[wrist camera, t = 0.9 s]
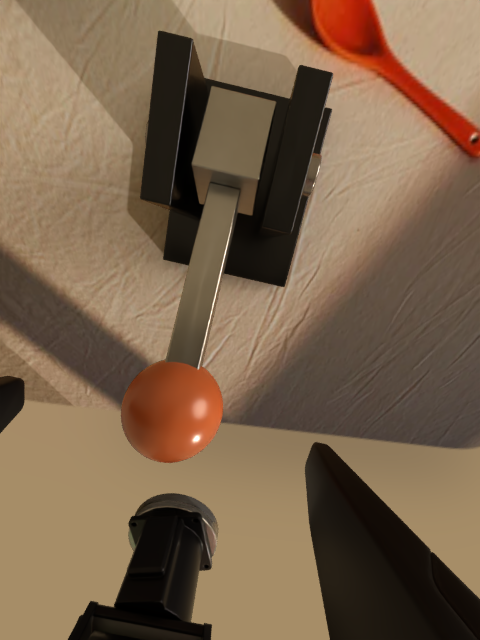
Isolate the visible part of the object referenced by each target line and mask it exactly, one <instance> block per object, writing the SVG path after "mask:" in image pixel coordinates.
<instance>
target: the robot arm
mask: <svg viewBox="0 0 480 640" xmlns="http://www.w3.org/2000/svg"><path fill="white" fill-rule="evenodd" d="M23 405H24V381H23V380H22V379H21V378H16V377H12V376H4V377H0V433H1V432H2V431H3V430H4V428H5V427H6V426H7V425H8V424H9V423H10V422H11V421H12V420H13V418H14V417H15V416H16V415H17V414H18V413H19V412H20V411H21V409H22V408H23ZM305 477H306V489H307V502H308V514H309V524H310V531H311V537H312V542H313V548H314V554H315V559H316V565H317V570H318V576H319V581H320V587H321V592H322V597H323V603H324V609H325V614H326V620H327V625H328V631H329V636H330V640H480V599H479V598H478V597H477V596H476V595H475V594H474V593H473V592H472V591H471V590H470V589H469V588H468V587H467V586H466V585H465V584H464V583H463V582H462V581H461V580H460V579H459V578H458V577H457V576H456V575H455V574H454V573H453V572H452V571H451V570H450V569H449V568H448V567H447V566H446V565H445V564H444V563H443V562H442V561H441V560H440V559H439V558H438V557H437V556H436V555H435V554H434V553H433V552H431V551H430V549H429V548H428V547H427V546H426V545H425V544H424V543H423V542H422V541H421V540H420V539H419V537H418V536H417V535H416V534H415V533H414V532H413V531H412V530H411V529H409V527H408V526H407V525H406V524H405V523H404V522H403V521H402V520H401V519H400V518H399V517H398V516H397V515H396V514H395V513H394V512H393V511H392V510H391V509H390V508H389V507H388V506H387V505H386V504H385V503H384V502H383V501H382V500H381V499H380V498H379V497H378V496H377V495H376V494H375V493H374V492H373V491H372V489H370V487H369V486H368V485H367V484H366V483H365V482H364V481H362V479H361V478H360V477H359V476H358V475H357V474H356V473H355V472H354V471H353V470H352V469H351V468H350V467H349V466H348V465H347V464H346V463H345V462H344V461H343V460H342V459H341V458H340V457H339V456H338V455H337V454H336V453H335V452H334V451H333V450H332V449H331V448H330V447H329V446H328V445H326V444H322V443H317V442H315V443H314V444H313V445H312V448H311V450H310V453H309V456H308V459H307V462H306V465H305ZM129 528H130V531H131V534H132V537H133V540H134V543H135V550H134V552H133V555H132V558H131V560H130V563H129V566H128V568H127V572H126V575H125V577H124V580H123V583H122V585H121V588H120V591H119V593H118V596H117V599H116V602H115V604H114V607H109V606H105V605H99V604H98V602H94V601H90V603H89V605H88V606H87V608H86V610H85V613H84V614H83V615H81V616H80V617H79V619H78V621H77V623H76V625H75V627H74V629H73V631H72V633H71V635H70V636H69V638H68V640H211V628H212V625H211V624H207V623H204V625H202V624H196V623H192V622H191V618H192V612H193V606H194V599H195V593H196V587H197V581H198V574H199V571H202V570H210V569H211V567H212V559H211V554H210V550H209V545H208V540H207V536H206V531H205V527H204V522H203V518H202V515H201V514H200V513H199V512H187V513H171V514H155V515H139V516H132V517H131V519H130V521H129Z"/></svg>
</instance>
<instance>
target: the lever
mask: <svg viewBox="0 0 480 640" xmlns="http://www.w3.org/2000/svg"><path fill="white" fill-rule="evenodd" d="M275 109H276V101H272V100H268V99H264V98H260V97H255V96H251V95H247V94H243V93H239V92H235V91H231V90H226V89H222V88H218V87H214V86H211V88H210V92H209V96H208V100H207V104H206V108H205V112H204V115H203V119H202V123H201V127H200V131H199V135H198V139H197V143H196V147H195V151H194V154H193V158H192V162H191V166H192V170H193V175H194V180H195V185H196V190H197V195H198V200H199V203H200V204H204V207H203V211H202V215H201V219H200V223H199V227H198V231H197V235H196V239H195V243H194V247H193V251H192V255H191V259H190V263H189V267H188V272H187V276H186V280H185V284H184V288H183V292H182V296H181V300H180V304H179V308H178V312H177V316H176V320H175V324H174V328H173V332H172V336H171V340H170V345H169V349H168V353H167V357H166V360H162V361H159V362H156V363H154V364H152V365H150V366H148V367H147V368H145V369H144V370H142V371H141V372H140V373H139V374H138V375H137V376H136V377H135V378H134V380H133V381H132V382H131V384H130V385H129V387H128V389H127V391H126V393H125V395H124V398H123V402H122V407H121V422H122V426H123V430H124V433H125V435H126V437H127V439H128V441H129V442H130V444H131V445H132V446H133V447H134V449H135V450H137V451H138V452H139V453H140V454H142V455H143V456H145V457H146V458H149V459H151V460H154V461H157V462H164V463H173V462H179V461H183V460H186V459H188V458H191V457H193V456H195V455H196V454H198V453H199V452H200V451H202V450H203V449H204V448H205V447H206V446H207V445H208V444H209V443H210V442H211V440H212V439H213V438H214V436H215V434H216V433H217V431H218V428H219V426H220V423H221V419H222V414H223V400H222V395H221V391H220V388H219V386H218V384H217V382H216V380H215V379H214V377H213V376H212V375H211V374H210V373H209V372H208V371H207V370H206V369H205V368H204V367H202V365H203V360H204V356H205V352H206V347H207V343H208V339H209V334H210V330H211V326H212V321H213V317H214V313H215V309H216V304H217V300H218V296H219V291H220V287H221V283H222V278H223V274H224V270H225V266H226V261H227V257H228V253H229V248H230V244H231V240H232V235H233V231H234V227H235V222H236V218H237V214H238V213H243V214H247V215H253V212H254V207H255V203H256V199H257V194H258V190H259V185H260V181H261V177H262V172H263V168H264V163H265V159H266V154H267V150H268V144H269V139H270V134H271V129H272V124H273V119H274V114H275Z"/></svg>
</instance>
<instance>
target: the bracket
mask: <svg viewBox="0 0 480 640" xmlns="http://www.w3.org/2000/svg"><path fill="white" fill-rule="evenodd" d="M332 78H333V73H331V72H327V71H323V70H319V69H315V68H311V67H307V66H303V65H299V67H298V71H297V75H296V78H295V82H294V86H293V89H292V93H291V97H290V99H288V98H284V97H280V96H276V95H272V94H268V93H264V92H259V91H255V90H251V89H247V88H243V87H239V86H235V85H230V84H226V83H222V82H218V81H214V80H210V79H206V78H204V76H203V72H202V69H201V66H200V62H199V59H198V55H197V52H196V48H195V45H194V42H193V39H191V38H188V37H184V36H180V35H176V34H172V33H167V32H163V31H158V37H157V47H156V56H155V65H154V75H153V84H152V93H151V102H150V112H149V120H148V123H147V127H146V136H145V141H146V149H145V158H144V168H143V177H142V186H141V195H140V198H141V199H142V200H144V201H147V202H149V203H152V204H154V205H157V206H160V207H162V208H165V209H168V210H170V213H169V220H168V227H167V234H166V242H165V249H164V256H163V259H164V260H167V261H171V262H176V263H180V264H185V265H189V263H190V259H191V255H192V251H193V247H194V243H195V239H196V235H197V231H198V227H199V223H200V219H201V215H202V211H203V207H204V204H200V203H199V200H198V195H197V190H196V185H195V180H194V175H193V170H192V166H191V162H192V158H193V154H194V151H195V147H196V143H197V139H198V135H199V131H200V127H201V123H202V119H203V115H204V112H205V108H206V104H207V100H208V96H209V92H210V88H211V86H214V87H218V88H222V89H226V90H231V91H235V92H239V93H243V94H247V95H251V96H255V97H260V98H264V99H268V100H272V101H276V109H275V114H274V119H273V124H272V129H271V134H270V139H269V144H268V150H267V154H266V159H265V163H264V168H263V172H262V177H261V181H260V185H259V190H258V194H257V199H256V203H255V207H254V212H253V215H247V214H243V213H238V214H237V218H236V222H235V227H234V231H233V235H232V240H231V244H230V248H229V253H228V257H227V261H226V266H225V270H224V274H229V275H233V276H237V277H242V278H246V279H251V280H255V281H259V282H264V283H268V284H273V285H277V286H281V287H285V284H286V280H287V276H288V272H289V269H290V265H291V261H292V257H293V254H294V250H295V246H296V243H297V239H298V235H299V231H300V228H301V224H302V220H303V217H304V213H305V209H306V205H307V202H308V198H309V195H310V194H311V192H312V190H313V188H314V185H315V182H316V179H317V176H318V173H319V169H320V164H321V155H320V153H321V150H322V146H323V142H324V139H325V135H326V131H327V127H328V124H329V120H330V116H331V113H332V109H330V108H325V105H326V101H327V97H328V93H329V90H330V86H331V82H332Z"/></svg>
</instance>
